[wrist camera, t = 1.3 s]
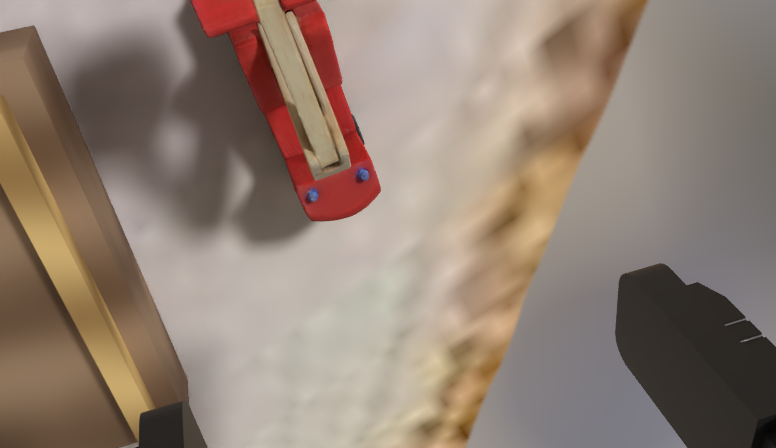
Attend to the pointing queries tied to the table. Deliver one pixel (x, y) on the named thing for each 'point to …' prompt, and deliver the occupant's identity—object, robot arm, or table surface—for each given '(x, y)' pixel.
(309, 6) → the toy fire truck
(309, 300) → the table surface
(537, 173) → the table surface
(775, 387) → the robot arm
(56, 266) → the platform
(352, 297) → the table surface
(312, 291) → the table surface
